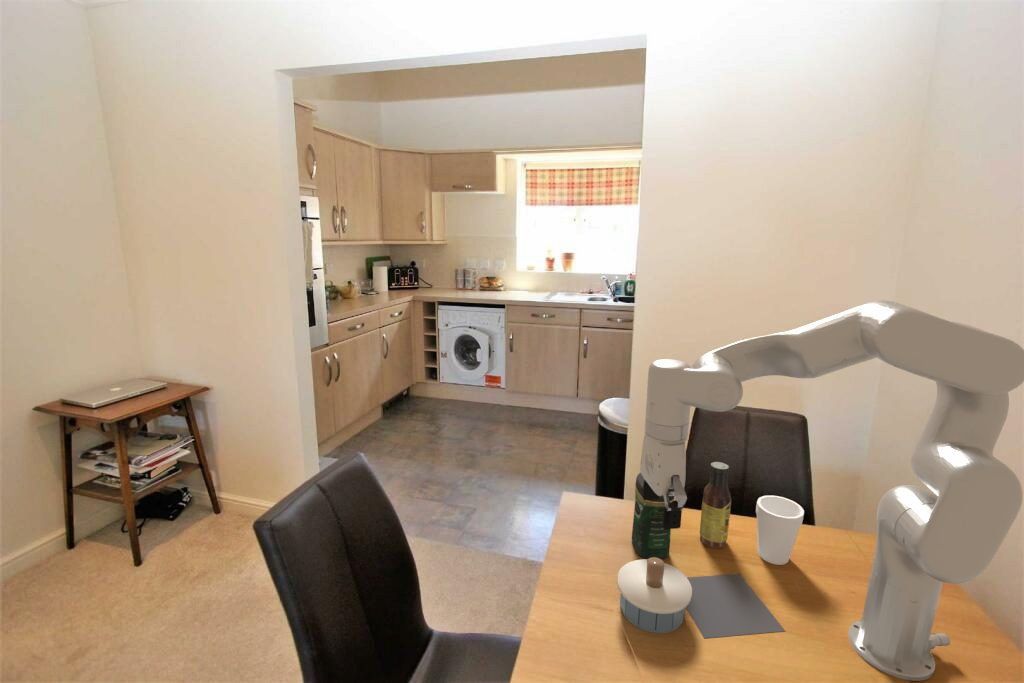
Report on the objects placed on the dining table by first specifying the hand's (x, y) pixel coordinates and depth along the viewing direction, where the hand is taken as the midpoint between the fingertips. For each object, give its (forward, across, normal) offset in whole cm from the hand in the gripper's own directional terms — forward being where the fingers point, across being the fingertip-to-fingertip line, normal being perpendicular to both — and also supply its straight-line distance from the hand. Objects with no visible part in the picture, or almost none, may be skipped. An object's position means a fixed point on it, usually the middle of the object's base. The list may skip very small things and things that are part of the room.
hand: (660, 512), depth 96 cm
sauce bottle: (+22, -20, +23) cm, 38 cm away
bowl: (+22, 0, 0) cm, 22 cm away
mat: (+22, 0, +15) cm, 26 cm away
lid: (+16, 0, 0) cm, 16 cm away
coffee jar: (+22, -19, +7) cm, 30 cm away
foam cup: (+22, -13, +34) cm, 42 cm away
